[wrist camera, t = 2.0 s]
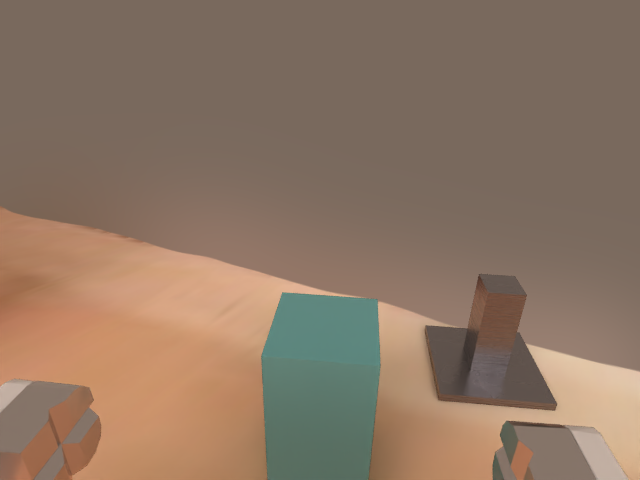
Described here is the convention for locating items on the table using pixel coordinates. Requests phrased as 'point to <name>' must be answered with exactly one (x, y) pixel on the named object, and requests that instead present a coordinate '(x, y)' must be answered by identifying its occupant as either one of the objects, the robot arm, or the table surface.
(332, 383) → the teal upright pillar
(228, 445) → the table surface
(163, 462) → the table surface
